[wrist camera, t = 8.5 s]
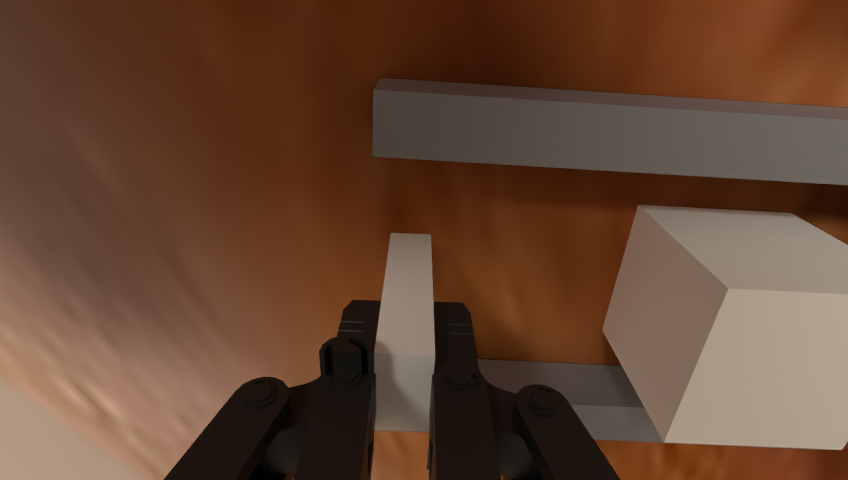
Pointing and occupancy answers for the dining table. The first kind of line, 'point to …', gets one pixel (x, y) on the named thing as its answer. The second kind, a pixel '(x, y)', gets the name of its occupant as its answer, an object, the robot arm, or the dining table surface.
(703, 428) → the cube with cylindrical stub
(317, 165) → the dining table surface
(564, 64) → the dining table surface
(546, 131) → the guide rails
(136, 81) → the dining table surface
